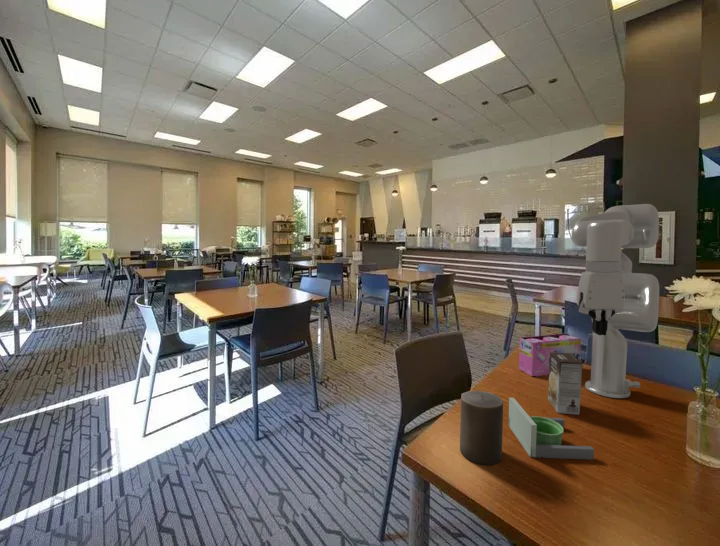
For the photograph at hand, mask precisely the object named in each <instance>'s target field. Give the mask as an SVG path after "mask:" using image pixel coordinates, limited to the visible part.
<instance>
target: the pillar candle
mask: <svg viewBox="0 0 720 546" xmlns="http://www.w3.org/2000/svg"><path fill="white" fill-rule="evenodd" d="M460 397H461V398H460V424H459V425H460V426H459V429H460V430H459V432H460V433H459V451H460V453H461V455H462V456H463V457H465V458H466V459H467V460H469V462H472V463H474V464H478V465H483V466H492V465H497V464H499V463H500V462H501V460H502V459H503V457H502V456H503V426H504V423H503V422H504V421H503V420H504V400H503V399H502V397H500V396H498V395H497V394H494V393H492V392H488V391H482V390H470V391H466V392H463V393H461V396H460Z"/></svg>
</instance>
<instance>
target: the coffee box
mask: <svg viewBox="0 0 720 546" xmlns="http://www.w3.org/2000/svg"><path fill="white" fill-rule="evenodd" d="M582 374H583V362H582V360H580V361H579V360H578V359H577V358H576V357H575V356H574V355H572V354H571V353H553V352H550V363H549V375H548V390H547V391H548V393H547V399H548V400H547V401H549V403H550V405H551V406H552V407H553V409H554V410H555V412H556V413H558V414H566V415H567V414H568V415H578V416H579V415H580V412H581V411H580V410H581V394H582V393H581V391H582V378H583V377H582V376H583V375H582Z"/></svg>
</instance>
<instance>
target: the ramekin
mask: <svg viewBox="0 0 720 546" xmlns="http://www.w3.org/2000/svg"><path fill="white" fill-rule="evenodd" d="M529 417H530V418H531V419H532V420H533V421H534V423H535V424H536V425H537V432H536V445H562V439H563V435H564V433H565V431H564V429H565V428H564V429H563V427H562V426H561V425H560V424H559V423H557V422H555V421H553V420H551V419H548V418H549V417H545V416H536V415H534V416H529Z"/></svg>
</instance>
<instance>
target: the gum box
mask: <svg viewBox="0 0 720 546" xmlns="http://www.w3.org/2000/svg"><path fill="white" fill-rule="evenodd" d="M581 338H582V337H575V336H571V334H569V333H557V334H547V335H545V334H544V335H536V336H535V335H534V336H523V337H519V347H518V348H519V351H518V354H519V355H518V357H519V358H518V370H519V369H520V370H522V371H524V372H526V373H527V374H529V375H531V376H536V377H543V376H542V375H545V376H549V375H548V374H549V363H550V352H553V353H571V354H572V355H574V356H575V357H576V358H577V359H578V360H579V361H581V355H582V354H581V353H582V352H581V350H582V349H581V348H582V344H581V341H582V340H581ZM520 370H519V371H520ZM527 374H526V375H527ZM529 375H528V376H529ZM531 376H530V377H531Z"/></svg>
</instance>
